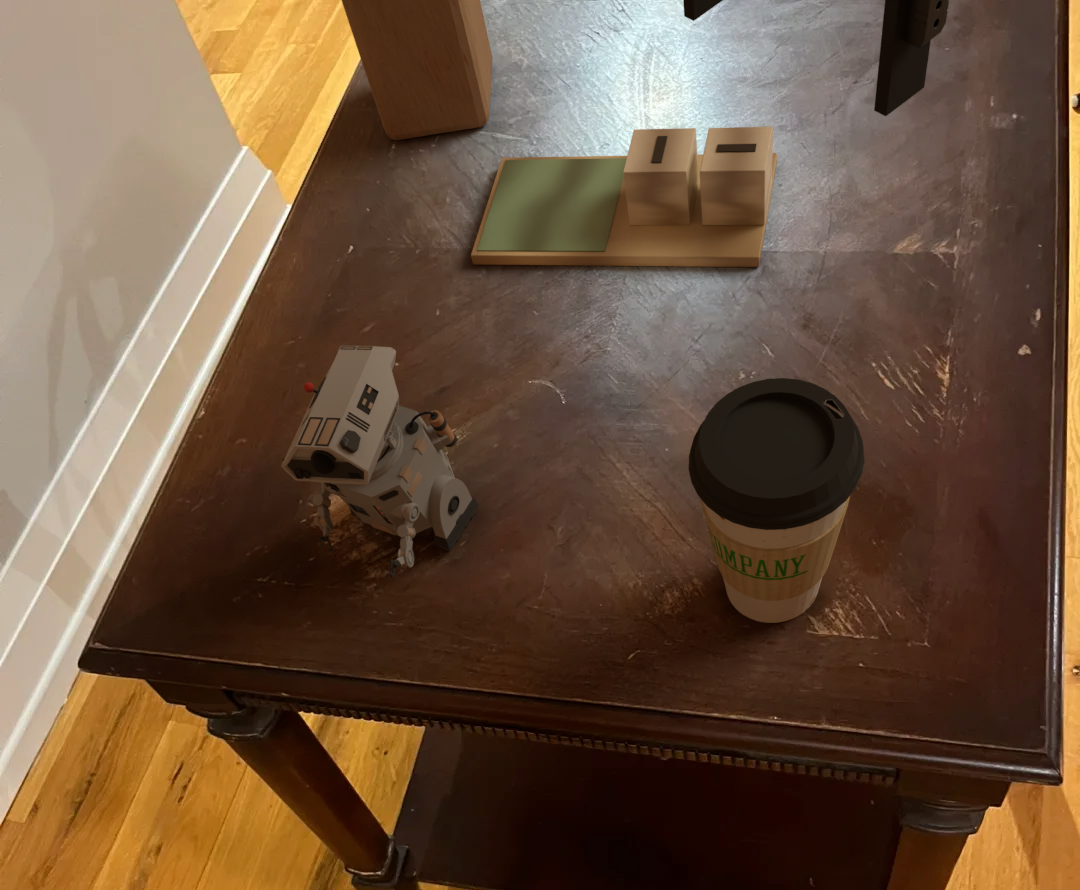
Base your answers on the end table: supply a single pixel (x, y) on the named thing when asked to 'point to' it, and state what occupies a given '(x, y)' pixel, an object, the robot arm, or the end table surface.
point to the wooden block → (424, 63)
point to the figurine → (378, 455)
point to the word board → (635, 204)
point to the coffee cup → (775, 491)
